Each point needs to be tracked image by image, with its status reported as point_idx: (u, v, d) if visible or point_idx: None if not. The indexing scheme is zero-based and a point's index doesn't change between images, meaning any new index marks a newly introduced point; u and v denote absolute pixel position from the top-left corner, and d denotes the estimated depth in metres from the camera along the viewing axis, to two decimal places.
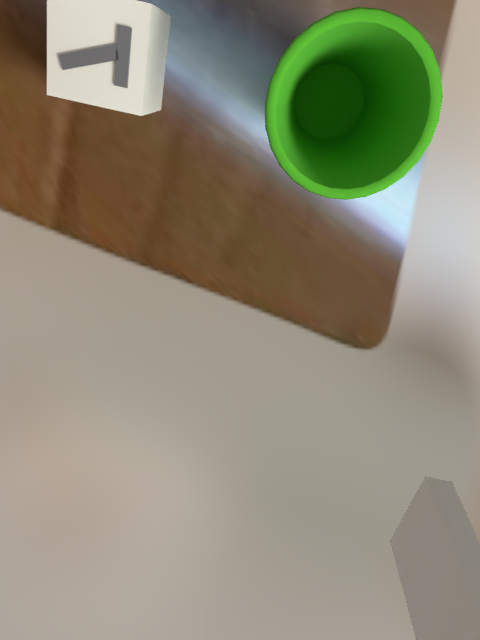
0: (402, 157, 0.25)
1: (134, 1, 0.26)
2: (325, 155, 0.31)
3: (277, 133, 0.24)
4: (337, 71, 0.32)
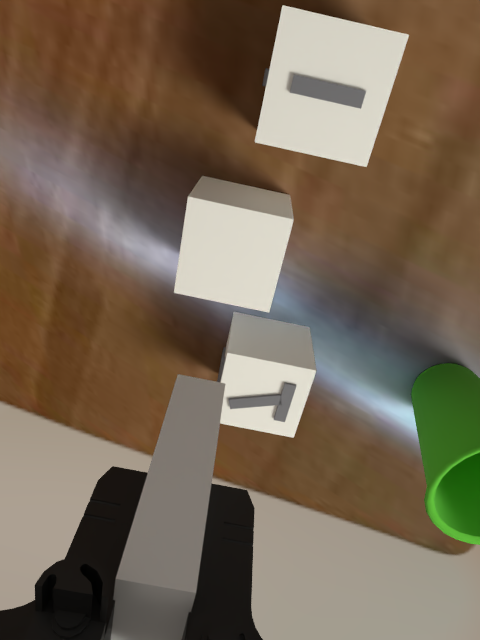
0: None
1: (301, 368, 0.30)
2: None
3: (433, 503, 0.29)
4: None
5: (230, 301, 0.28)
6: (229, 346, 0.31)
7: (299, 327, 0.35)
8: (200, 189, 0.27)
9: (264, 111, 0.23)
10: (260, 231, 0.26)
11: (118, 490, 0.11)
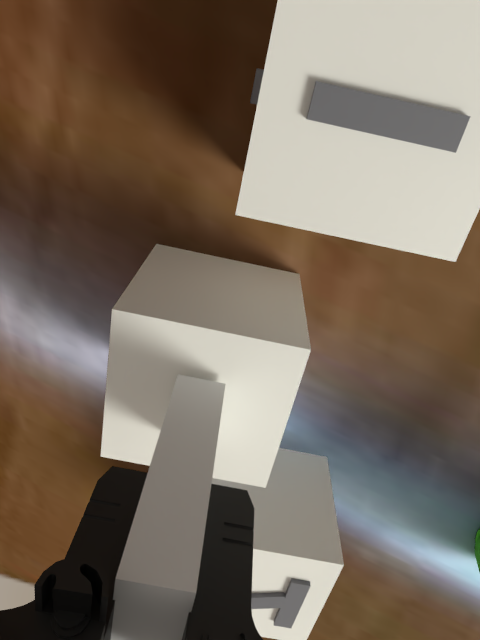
0: None
1: (319, 562, 0.18)
2: None
3: None
4: None
5: None
6: None
7: (312, 459, 0.23)
8: (143, 283, 0.15)
9: (253, 157, 0.11)
10: (249, 368, 0.14)
11: (118, 490, 0.11)
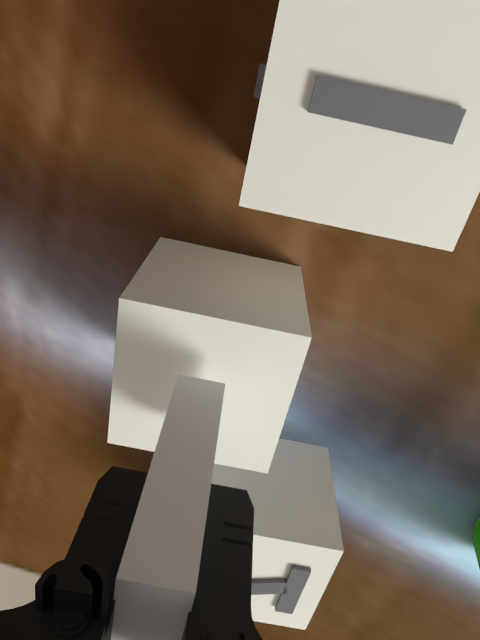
0: None
1: (319, 548, 0.19)
2: None
3: None
4: None
5: None
6: None
7: (313, 450, 0.24)
8: (148, 273, 0.16)
9: (256, 149, 0.12)
10: (252, 356, 0.15)
11: (118, 490, 0.11)
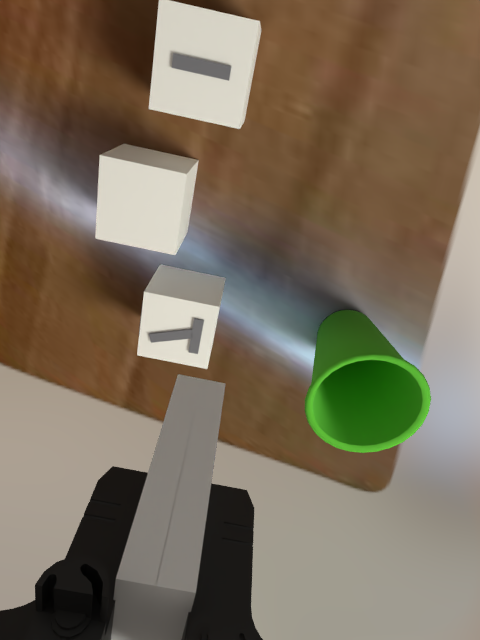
0: (402, 426, 0.35)
1: (207, 305, 0.36)
2: (344, 389, 0.40)
3: (313, 414, 0.34)
4: None
5: (142, 245, 0.34)
6: (147, 287, 0.36)
7: (216, 277, 0.41)
8: (114, 151, 0.33)
9: (153, 83, 0.29)
10: (161, 185, 0.32)
11: (118, 490, 0.11)
